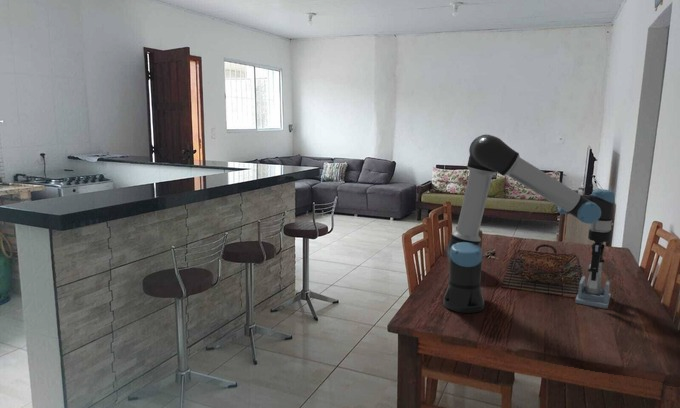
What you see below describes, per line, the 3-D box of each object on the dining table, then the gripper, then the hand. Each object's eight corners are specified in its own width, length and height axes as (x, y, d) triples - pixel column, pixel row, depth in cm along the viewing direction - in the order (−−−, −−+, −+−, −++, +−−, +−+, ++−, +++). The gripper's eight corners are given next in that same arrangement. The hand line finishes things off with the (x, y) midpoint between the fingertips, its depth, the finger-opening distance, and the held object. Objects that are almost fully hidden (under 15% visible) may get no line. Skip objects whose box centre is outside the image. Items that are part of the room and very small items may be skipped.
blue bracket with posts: (607, 308, 182) (609, 289, 181) (575, 302, 188) (576, 284, 186) (610, 297, 194) (612, 279, 192) (579, 291, 199) (581, 274, 198)
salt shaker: (603, 299, 187) (605, 266, 185) (587, 298, 188) (589, 266, 186) (599, 293, 193) (600, 262, 190) (583, 293, 194) (585, 261, 192)
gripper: (608, 238, 173) (602, 294, 177) (613, 225, 194) (608, 275, 198) (584, 235, 177) (579, 290, 181) (592, 222, 198) (587, 272, 202)
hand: (594, 283), depth 189 cm, fingers open, 13 cm apart
